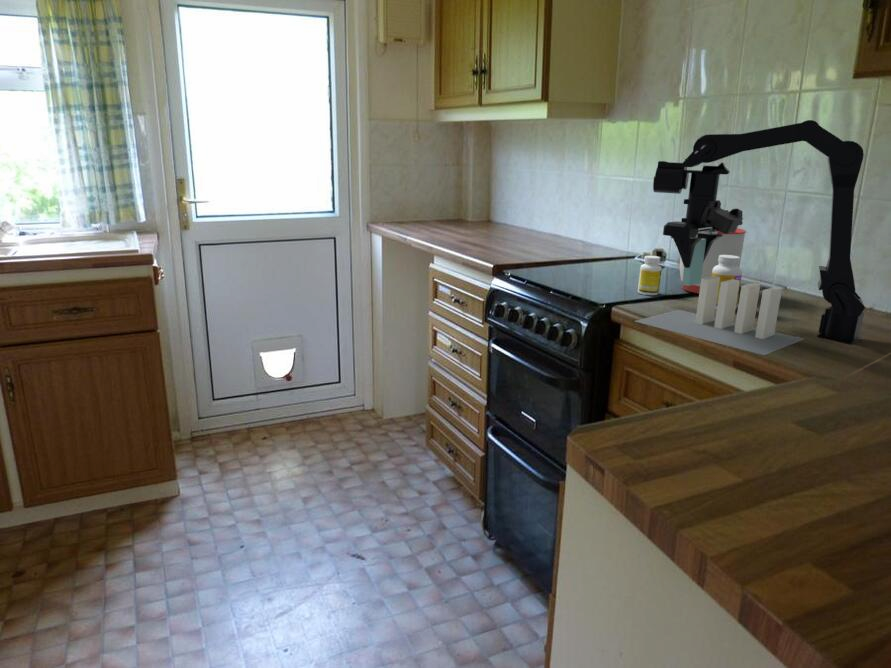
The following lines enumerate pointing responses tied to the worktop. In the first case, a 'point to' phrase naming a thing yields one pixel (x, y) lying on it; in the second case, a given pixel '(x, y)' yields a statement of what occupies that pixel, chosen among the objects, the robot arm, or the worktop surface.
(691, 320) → the slate mat
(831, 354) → the worktop surface
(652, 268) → the supplement bottle
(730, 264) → the supplement bottle
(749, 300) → the domino
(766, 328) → the domino
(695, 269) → the teal domino
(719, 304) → the domino
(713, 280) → the domino
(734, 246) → the citrus juicer
